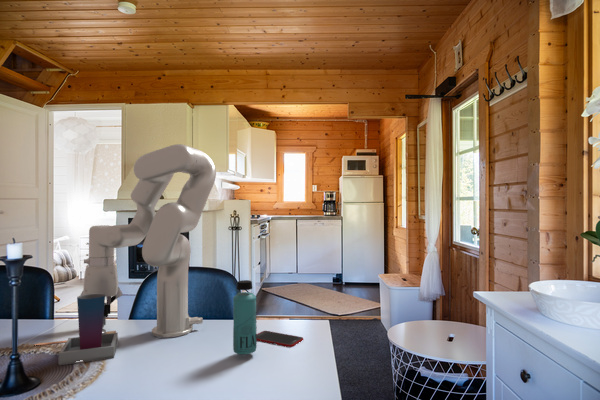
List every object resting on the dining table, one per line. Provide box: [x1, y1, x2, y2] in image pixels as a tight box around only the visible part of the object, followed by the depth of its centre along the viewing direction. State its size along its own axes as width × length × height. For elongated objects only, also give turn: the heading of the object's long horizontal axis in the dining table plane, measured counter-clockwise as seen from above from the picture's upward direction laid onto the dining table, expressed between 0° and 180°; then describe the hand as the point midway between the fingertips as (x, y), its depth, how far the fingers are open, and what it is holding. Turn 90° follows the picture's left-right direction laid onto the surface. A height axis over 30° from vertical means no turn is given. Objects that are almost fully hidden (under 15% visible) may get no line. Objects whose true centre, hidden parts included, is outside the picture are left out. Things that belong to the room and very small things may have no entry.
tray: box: [58, 332, 119, 366], centre depth 104 cm, size 13×13×3 cm
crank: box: [102, 302, 107, 334], centre depth 122 cm, size 16×5×7 cm, turn 22°
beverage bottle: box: [232, 279, 258, 355], centre depth 102 cm, size 6×7×20 cm
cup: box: [76, 293, 106, 350], centre depth 105 cm, size 7×7×15 cm
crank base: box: [34, 330, 117, 347], centre depth 114 cm, size 21×8×1 cm, turn 111°
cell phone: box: [256, 330, 304, 348], centre depth 115 cm, size 8×15×1 cm, turn 61°
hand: (101, 316), depth 128 cm, fingers closed on crank, 2 cm apart
